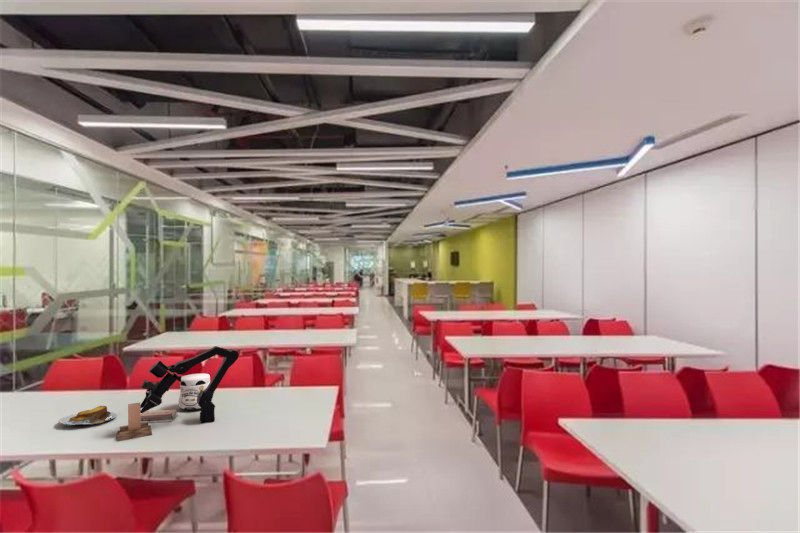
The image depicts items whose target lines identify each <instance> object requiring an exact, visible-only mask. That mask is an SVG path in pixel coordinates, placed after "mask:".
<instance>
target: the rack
mask: <svg viewBox="0 0 800 533" xmlns="http://www.w3.org/2000/svg"><path fill="white" fill-rule="evenodd" d="M152 435H153V431H152V426H151V425H150V424H149V423H148V422H145V423H141V429H136V430H130V431H128V425H122V426H119V430H117V432H116V441H117V442H120V441H127V440H131V439H139V438H143V437H149V436H152Z"/></svg>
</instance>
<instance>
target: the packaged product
mask: <svg viewBox="0 0 800 533" xmlns="http://www.w3.org/2000/svg"><path fill="white" fill-rule="evenodd" d="M178 417H179V414H178V413H177V409H162V410H147V411H145V412H143V413H141V423H145V422H148V424H157V423H158V424H160V423H172V422H174V420H176V419H177V418H178Z"/></svg>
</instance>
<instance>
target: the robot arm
mask: <svg viewBox="0 0 800 533" xmlns="http://www.w3.org/2000/svg"><path fill="white" fill-rule="evenodd" d="M215 356H221V357H223V358H222V362H221V364H220V366H219V368H218V369H217V371H216V372H215V374H214V375H213V377H212V378H211V379H210V383H209V385H208V387H207V388H206V389H205V390H204V391H203V390H201V391H200V393H199V395H198V396H197V403H198V405H199V406H200V407H201V408H202V409H200V412H199V422H200V424H204V423H205V424H206V423H211V422H212V423H213V422H215V421H216V419H215V418H216V417H215V414H216V413H215V409H216V408H215V407H216V405H215V403H214V402H213V398H214V394H215V391H216V390H217V388H218V386H219V385H220V383H221V382H222V380H223V378H224V377H225V375H226V374H227V371H228V370H229V368H230V367H231V366H233V365H234V364H235V363H236V361H237V360H238V359H239V357H240V355H239V351H237V350H235V349H233V348H229V349H227V348H223V347H219V346H216V345H215V346H213V347H211V348H209V349H208V350H204V351H203V352H202V353H201V352H200V353H199V354H196V355H194V356H193V357H191V358H187V359H182V360H179V361H177V362H175V363H174V364H172V365H171V364H170V365H166V364H164V362H162V360H158V361H157V362H156V363H154V364H153V365H152V366H151V367H150V368H149V369H148V372H149V373H150V374H152V375H153V376H154V377H156V378H157V379H159V378H161V380H157V382H153V381H150V380H146V379H144V380H143V381H142V383H141V385H140V386H141V387H140V388H141V389H146V390H145V397H144V399H143V400H142V402H140V405H141V411H140V413H141V414H142V413H143V412H145V411H150V410H151V409H153V408H156V407H158V406H160V405H161V404H162V403H163V399H162V398H163V396H164V395H165V394H166V393H167V392H169V391H170V388H171V387H172V386H173V385H174V384H175V383H176V382H177V381H178V382H179V383H180V382H181V377H182V376H183V375H185V374H186V373H187V372H188V371H190V370H191V369H192V368H194V367H195V366H196V365H199V364H201V363H203V362H205V361H207V360H209V359H210V358H213V357H215ZM211 401H212V402H211Z"/></svg>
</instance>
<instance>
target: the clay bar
mask: <svg viewBox="0 0 800 533" xmlns="http://www.w3.org/2000/svg"><path fill="white" fill-rule="evenodd" d="M141 410H142V408H141V402H134V403H129V404H127V422H128V423H127V424H128V425H127V426H128V431H130V430H136V429H141V414H142V413H140V411H141Z"/></svg>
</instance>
